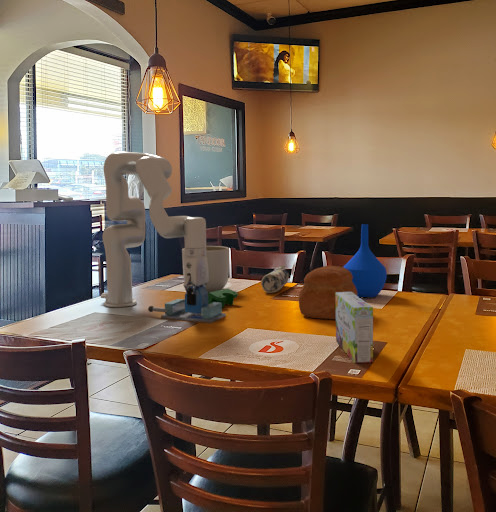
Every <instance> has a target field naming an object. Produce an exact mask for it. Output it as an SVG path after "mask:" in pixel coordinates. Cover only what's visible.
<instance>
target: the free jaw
mask: <svg viewBox="0 0 496 512" xmlns="http://www.w3.org/2000/svg"><path fill="white" fill-rule="evenodd" d="M147 310H148V312H149V313H153V312H157V313H158V312H159V313H164V314H165V315H174V314H177V313H179V312H182V311H184V310H185V298H184V299H183V298H177V299H174V300H170V301H167V302H165V303H164V307H157V306H154V305H153V306H152V305H150V306H148V308H147Z"/></svg>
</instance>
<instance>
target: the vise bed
mask: <svg viewBox="0 0 496 512" xmlns="http://www.w3.org/2000/svg"><path fill="white" fill-rule="evenodd" d="M222 310H223V308H222V303H219V302H213V303H211V304H208V305H206V306H204V307H202V314H199V313H186V312H185V310H184V311H182V312H179V313H177V314H174V315H165V313H164V314H161V315H160V318H161V319H167V320H175V321H176V320H177V321H189V322H196V323H197V322H198V323H208V324H209V323H210V324H213V323H214V322H216V321H218V320H219V321H220V320H221V319H223V318H225V317H226V313H225V312H223V311H222Z"/></svg>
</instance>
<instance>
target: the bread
mask: <svg viewBox="0 0 496 512" xmlns="http://www.w3.org/2000/svg"><path fill="white" fill-rule="evenodd" d="M352 279H353V276H352V274H351V272H350V271H349V270H347V269H346V268H344V266H340V265H339V266H338V265H324V266H322V267H317V268H314V269H313V270H311V271H310V272H307V274H306V275H305V277H304V278H303V283H304V284H303V286H302V288H301V289H300V291H299V294H298V307H299V310H300V311H299V312H300V313H301V315H302V316H305V317H308V318H313V319H321V320H336V303H335V293H336V292H352V293H354V294H355V295H357V290H356V287H355V285H354V284H353V282H352Z"/></svg>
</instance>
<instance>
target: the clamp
mask: <svg viewBox="0 0 496 512" xmlns="http://www.w3.org/2000/svg"><path fill="white" fill-rule="evenodd" d="M238 295H239V293H238V292H237V291H234V290H233V289H230V288H223V289H221V290H218V291H214V292H209V293H208V304H211V303H213V302H219V303H222V309H223V308H225V305H229V306H233V305H234V300H235V298H238Z"/></svg>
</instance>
